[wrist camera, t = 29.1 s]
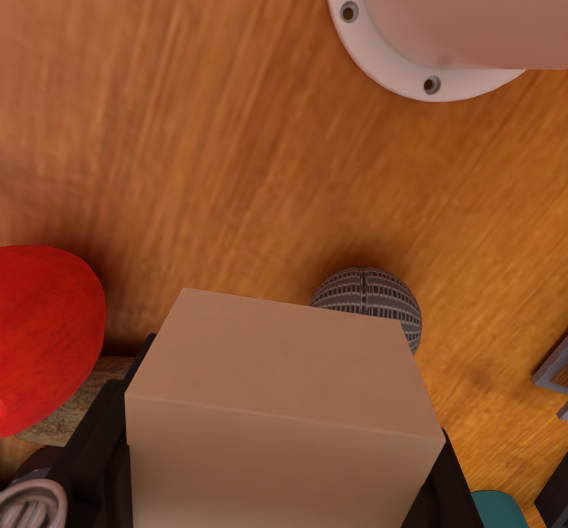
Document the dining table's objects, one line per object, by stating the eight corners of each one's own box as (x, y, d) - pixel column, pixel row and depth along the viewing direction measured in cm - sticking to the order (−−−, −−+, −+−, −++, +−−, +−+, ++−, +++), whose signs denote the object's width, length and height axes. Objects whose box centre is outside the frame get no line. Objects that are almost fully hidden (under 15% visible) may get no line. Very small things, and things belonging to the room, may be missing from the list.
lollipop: (293, 342, 40) (231, 324, 37) (444, 270, 24) (351, 230, 21) (281, 442, 35) (209, 428, 33) (458, 436, 19) (341, 408, 17)
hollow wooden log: (-20, 382, 24) (44, 325, 30) (-1, 464, 26) (54, 396, 32) (222, 403, 24) (235, 343, 30) (217, 481, 27) (230, 412, 33)
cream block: (182, 285, 10) (123, 393, 6) (399, 319, 10) (447, 441, 7) (177, 435, 12) (132, 566, 9) (349, 460, 12) (366, 597, 9)
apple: (102, 355, 30) (-9, 514, 20) (-20, 288, 28) (-224, 427, 17) (163, 269, 26) (66, 408, 16) (27, 183, 24) (-198, 277, 13)
